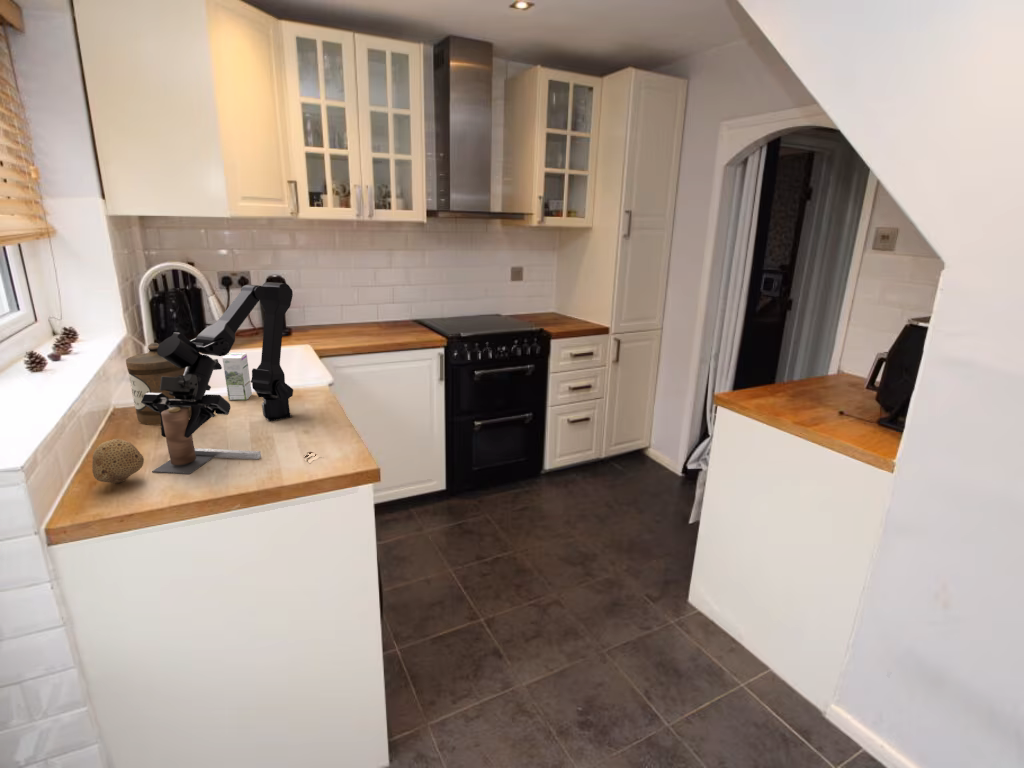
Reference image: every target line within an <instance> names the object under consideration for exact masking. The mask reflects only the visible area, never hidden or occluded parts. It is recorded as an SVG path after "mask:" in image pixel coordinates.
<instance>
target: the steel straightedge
mask: <svg viewBox="0 0 1024 768" xmlns="http://www.w3.org/2000/svg"><path fill="white" fill-rule="evenodd" d="M194 449H195V455H196V456H211V457H213V458H221V459H222V458H223V459H239V460H240V459H241V460H242V459H243V460H259V459H260V458H261V457H262V453H261V450H259V451H257V450H241V449H221V448H220V449H219V448H203V447H201V448H200V447H199V448H198V447H194Z"/></svg>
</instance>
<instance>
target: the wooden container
mask: <svg viewBox="0 0 1024 768" xmlns="http://www.w3.org/2000/svg"><path fill="white" fill-rule="evenodd" d="M159 344H160V343H157V342H152V343H150V344H148V346H147V348H148V350H149V351H148V352H145V353H140V354H136V355H133V356H130V357H127V358H126V359H125V364H126V369H127V372H128V377H129V383H130V388H131V394H132V399H133V403H134V408H135V413H136V418H137V421H138V423H140V424H143V425H150V426H151V425H153V426H155V425H156V426H157V425H161V417H160V412H155V411H153V410H152V409H150V408H149V407H147V406H146V405H144V404H143V403H141V401H142V398H143V396H144V394H146V393H162V394H164V395H165V396H167V397H168V398H170V399H175V396H171V395H170V394H169V392H170V391H165V390H163V391H160V384H161V377H178V376H179V375H183V374H184V372H185V369H186V367H185V368H178V367H177V366H175V365H173V364H172V363H170V362H169V361H167V360H165V359H164V358H162V357H161V356H159V355H158V353H157V349H158V346H159ZM183 408H187V410H188V415H189V419H190V417H191V413H192V412H191V407H183Z"/></svg>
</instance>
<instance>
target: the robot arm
mask: <svg viewBox="0 0 1024 768" xmlns="http://www.w3.org/2000/svg"><path fill="white" fill-rule="evenodd" d="M293 295H294V294H293V289H292V288H291V286H290V285H289V284H287V283H285V282H284V283H283V282H272V281H270V282H269V281H266V282H264V283H263V284H262V285H257V284H245V285H243V286H242V287H241V288H240V291H239V293H238V294H237V296H236V297H235V299H233V300H232V302H231V303H230V305H229V306H228V307H227V309H226V310H225V311H224V312H223V314H221V317H219V319H218V320H217V321H216V322H214V323H212V324H210V325H208V326H206V327H205V328H204V329H203V330H202V331H201V332H200V333H198V335H197V336H196V337H195V338H193V339H191V340H189V339H188V338H187V337H186V336H185V335H184V334H182V333H181V332H173V334H172V335H171V336H169V337H167V338H165V339H164V340H163V341H162V342H160V343H158V344H159V346H158V349H157V353H158V355H159V356H161V357H162V358H164V359H165V360H167V361H169V362H170V363H172V364H173V365H175V366H177V367H178V368H185V367H186V369H185V372H184V374H183V375H179V376H178V377H161V384H160V391H163V390H165V391H170V392H169V394H170V395H171V396H175V399H170V398H168V397H167V396H165V395H164V394H162V393H146V394H144V396H143V398H142V401H141V403H143V404H144V405H146V406H147V407H149V408H150V409H152V410H153V411H155V412H160V417H161V424H160V429H161V431H160V432H161V433H160V434H161V436H162V437H163V438H166V436H165V431H164V425H163V420H162V415H161V412H163V411H164V410H167V409H169V408H173V407H191V412H192V413H191V417H190V418H189V422H188V425H187V428H186V431H185V435H184V436H185V437H186V438H189V437H190V436H191V435H192V436H193V434H194V433H195V432H196V431H197V430H198V429H199V428H200V427H202V425H204V424H205V423H206V422H208V421H209V420H211V418H216V415H224V416H225V415H226V416H227V415H229V414H230V410H231V408H232V407H231V404H230V403H229V401H228V400H226V399H225V398H224V397H223V396H221V395H220V394H206V392H207V391H210V390H211V388H212V387H211V385H210V384H209V383H210V380H211V377H212V376H213V375H212V374H213V372H214V371H217V370H222V369H223V366H222V365H221V363H220V362H219V359H218V358H214V359H213V358H212V357H211V356H215V357H224V356H225V355H227V354H230V352H231V350H232V348H233V346H234V343H235V342H236V333H237V331H238V330H239V328H240V327H241V325H242V324H243V323H244V322H245V320H246V319H247V318H248V316H249V315H250V313H251V312H252V310H254V309H255V307H256V306H257V304H258V303H259V302H260V305H261V307H262V309H263V312H264V322H263V323H264V324H263V332H262V333H263V335H262V344H261V345H262V346H261V348H262V349H261V358H260V363H259V364H258V366H257V368H252V370H251V378H250V383H251V388H252V389H253V390H254V392H255V393H256V394H257V396H258V398H262V400H263V401H262V403H261V408H262V415H263V417H264V418H265V419H266V420H267V421H268V422H273V421H278V420H279V421H280V420H284V419H290V418H292V417H293V414H292V413H291V411H290V404H289V402H290V400H289V399H291V397H293V395H294V389H293V387H291V386H290V385H289V384H287V383H286V380H285V379H286V376H285V372H284V370H283V369H282V366H281V357H282V356H281V353H282V342H283V331H284V329H283V328H284V317H285V314H286V312H288V310H289V309H290V307H291V305H292V300H293Z"/></svg>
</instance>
